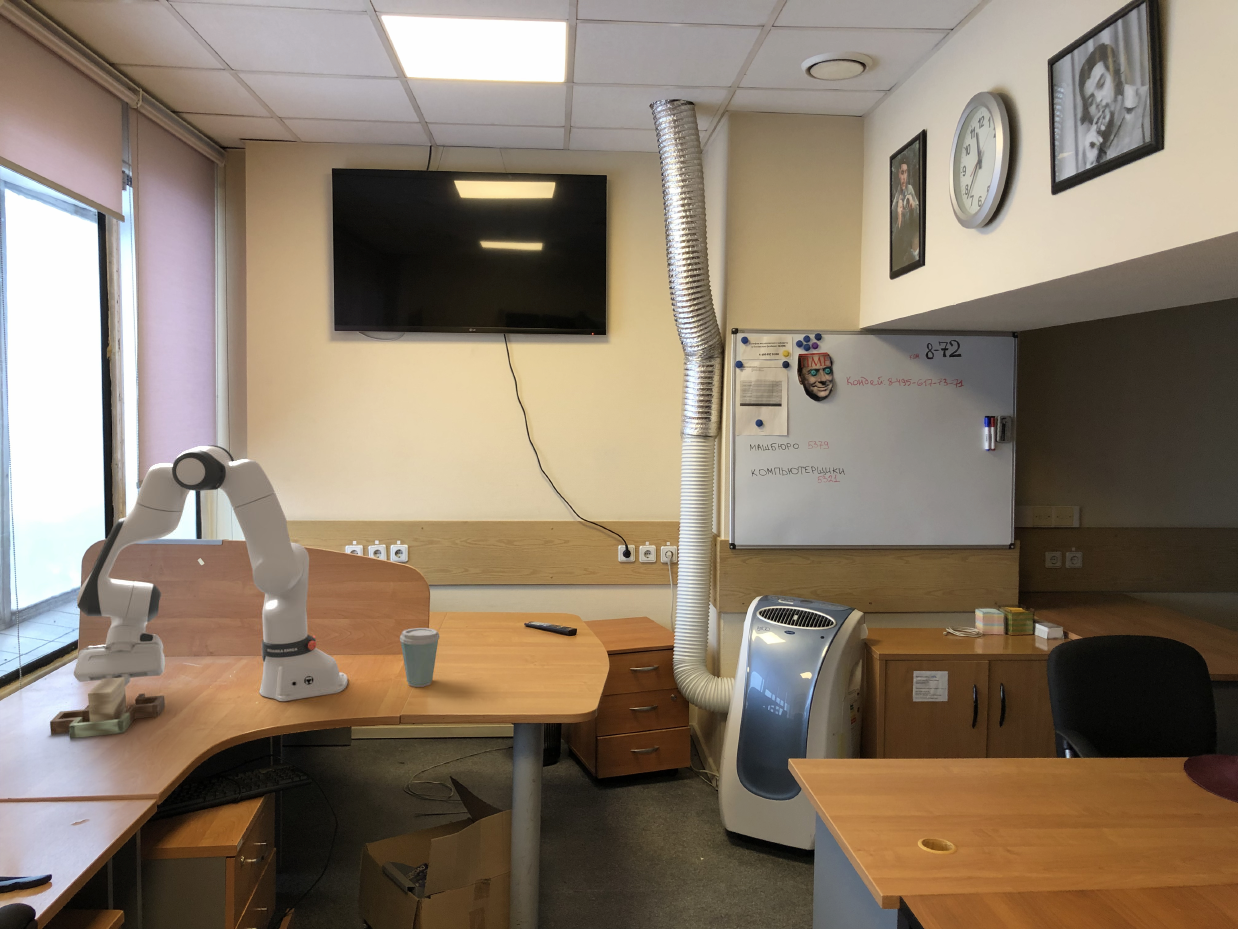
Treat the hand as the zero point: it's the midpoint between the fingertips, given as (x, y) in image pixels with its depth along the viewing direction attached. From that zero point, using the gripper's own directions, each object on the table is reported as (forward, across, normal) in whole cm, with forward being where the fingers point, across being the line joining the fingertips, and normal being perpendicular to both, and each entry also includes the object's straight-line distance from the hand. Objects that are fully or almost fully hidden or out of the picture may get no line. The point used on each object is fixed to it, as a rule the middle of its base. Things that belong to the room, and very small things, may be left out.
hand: (115, 693), depth 213 cm
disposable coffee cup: (+3, +75, +4) cm, 75 cm away
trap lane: (+7, 0, -1) cm, 7 cm away
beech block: (+7, 0, -1) cm, 7 cm away
